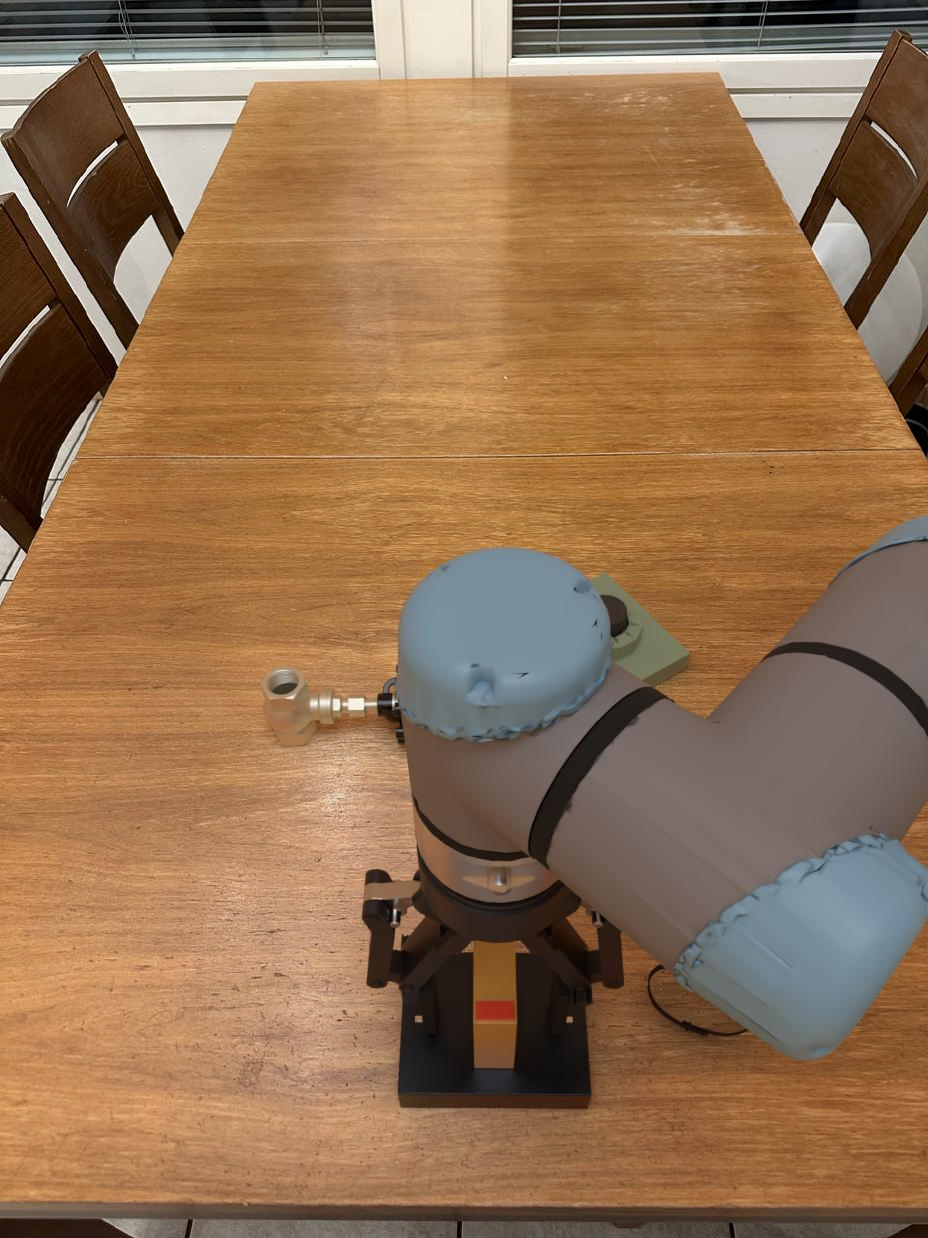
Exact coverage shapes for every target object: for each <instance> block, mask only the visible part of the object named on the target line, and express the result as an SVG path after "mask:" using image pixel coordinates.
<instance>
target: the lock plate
mask: <svg viewBox="0 0 928 1238" xmlns="http://www.w3.org/2000/svg"><path fill="white" fill-rule="evenodd" d="M552 972H553V969H552V968H551V967H550V966H549V964H548V963H547V962H546V961H545V960H544V959H543V957H542V956H541V955H532V954H531V952H516V991H517V1034H516V1048H515V1062H514V1068H475V1067H474V1038H473V951H472V952H471V951H470V952H469V951H466V952H465V951H462V952H461V954H460V955H453V954H451V955H450V956H449V958H448V959H447V960H446V961H445V962H444V963H443V964H442V965H441V966H440V967H439V969H438V970H437V971H436V980H437V990H438V994H437V1027H436V1034H424V1028H423V1020H422V1013H421V1006H420V1004H405V1003H404V1002H403V1000H402V1001H401V1003H402V1005H401V1018H400V1019H401V1020H400V1021H401V1022H400V1039H399V1056H398V1057H399V1058H398V1075H397V1076H398V1078H397V1098H398V1102H399V1106H400V1108H402V1109H403V1108H404V1109H406V1108H407V1109H408V1108H410V1109H412V1108H413V1109H414V1108H415V1109H522V1110H523V1109H527V1110H529V1109H531V1110H533V1109H535V1110H536V1109H539V1110H543V1109H544V1110H588V1109H589V1106H590V1103H591V1100H592V1099H591V1098H592V1096H593V1095H592V1091H593V1090H592V1081H591V1080H592V1079H591V1068H590V1067H591V1065H590V1052H589V1039H588V1037H589V1036H588V1027H587V1026H588V1025H587V1013H586V1011H587V1010H586V1006H575V1005H569V1010H568V1015H567V1021H566V1026H565V1032H564V1035H552V1025H551V1005H550V987H551V980H552Z"/></svg>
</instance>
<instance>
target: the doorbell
mask: <svg viewBox="0 0 928 1238" xmlns="http://www.w3.org/2000/svg"><path fill="white" fill-rule="evenodd" d="M589 581H590V583H591V584H592V586H593V587H594V588H595V589H596V591H597V592H598V594H599V595H611V596H614V597H617V598H619V599H620V600H621V601H623V602H624V604H625V605H626V607H627V617H626V623H625V628H624V630H623V631H622V632H621V633H620V634H619V635H617V636H615V637H612V640H613V642H614V645H613V647H612V658H611V659H612V661H613V662H614V663H616V664H617V665H619V666H621V667H622V668H624V669H625V670H627V671H628V672H630V673H632V674H633V675H635V676H636V677H638V678H640V679H641V680H643V681H644V682H646V683H647V684H649V685H650V686H652V687H653V688H654V687H656V686H658V685H660V684H661V683H663V682H665V681H667V680H668V679H671V678H672V677H674V676H676V675H678V674H680V673H682V672H683V671H685V670H687V669H688V664H689V660H690V656H691V652H690V651H689V650H688V649H687V648H686V647H685V646H684V645H682V644H681V642H679V640H677V638H675V637H674V636H673V635H672V634H671V633H670V632H669V631H668V630H667V629H666V628H665V627H663V625H662V624H660V623H659V622H658V621H657V620H656V619H655V618H654V617H653V616H652V615H651V614H650V613H649V612H648V611H647V610H646V609H645V608H644V607H643V606H642V605H641V604H640V603H639V602H638V601H637V600H635V598H634V597H632V596H631V595H630V594H629V593H628V592H627V591H626V590H625V589H624V588H623V587H622V586H621V585H620V584H619V583H618V582H616V581H615V579H613V577H612V576H610V574H608V573H607V572H603V573H602V574H601V573H600V574H599V575H596V576H595V577H593V578H591V579H589Z"/></svg>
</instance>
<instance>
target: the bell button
mask: <svg viewBox="0 0 928 1238" xmlns="http://www.w3.org/2000/svg"><path fill="white" fill-rule="evenodd" d="M600 597H601V599H602V601H603V603H604V605H605V606H606V607H607V610H608V614H609V618H610V635H611V636H612V637H615V636H617V635H619V634H620V633H621V632H622V631H623V630H624V628H625V623H626V617H627V607H626V605H625V604H624V602H623V601H621V600H620V599H619V598H617V597H614V596H611V595H600Z"/></svg>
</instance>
